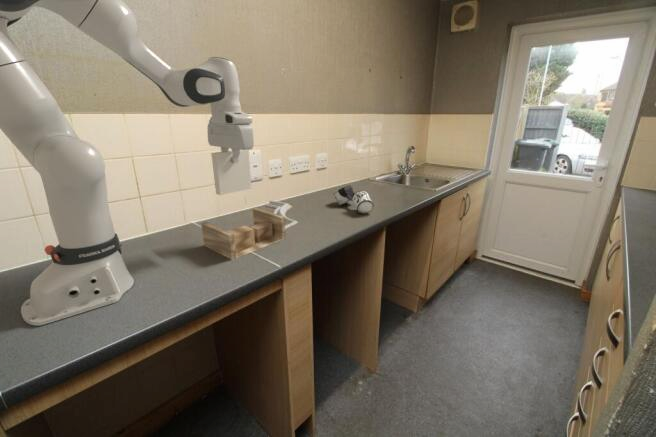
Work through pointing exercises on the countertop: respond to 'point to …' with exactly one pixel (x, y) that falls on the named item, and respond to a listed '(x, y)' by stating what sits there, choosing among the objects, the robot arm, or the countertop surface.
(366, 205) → the patterned dumbbell
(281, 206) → the molding
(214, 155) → the white square panel
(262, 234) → the walnut offcut
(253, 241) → the oak offcut
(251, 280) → the countertop surface
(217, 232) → the offcut rack
